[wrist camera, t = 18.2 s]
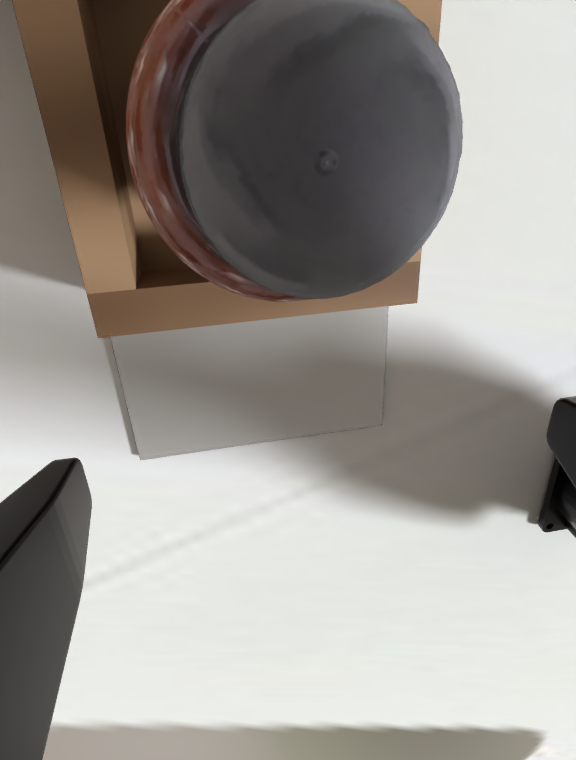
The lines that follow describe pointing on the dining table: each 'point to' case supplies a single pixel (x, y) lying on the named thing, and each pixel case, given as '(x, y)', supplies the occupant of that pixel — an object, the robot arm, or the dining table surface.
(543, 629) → the dining table surface
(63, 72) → the wooden tray
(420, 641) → the dining table surface
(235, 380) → the backstop
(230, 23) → the supplement bottle
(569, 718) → the dining table surface
